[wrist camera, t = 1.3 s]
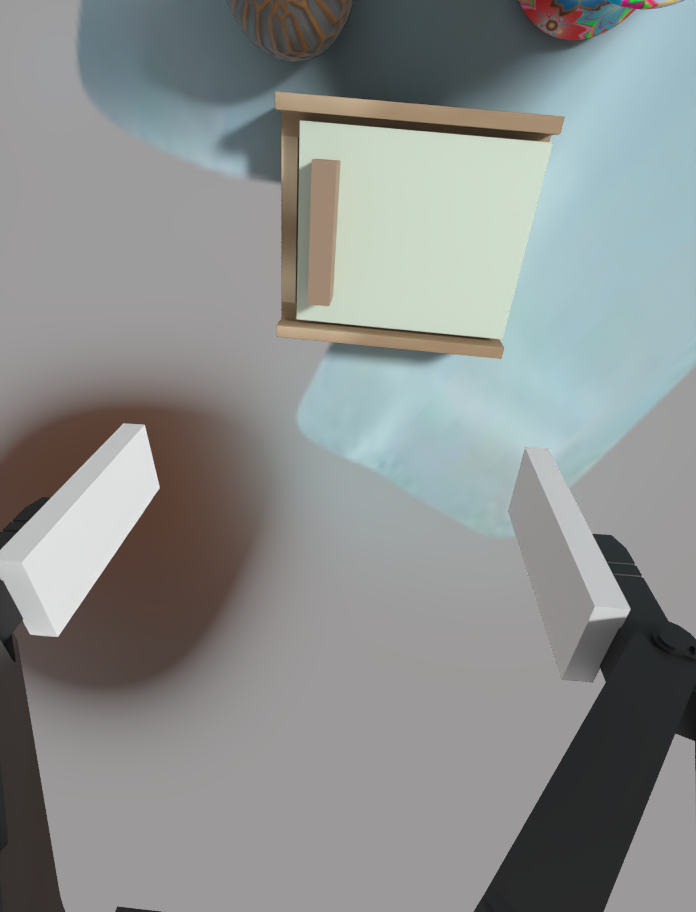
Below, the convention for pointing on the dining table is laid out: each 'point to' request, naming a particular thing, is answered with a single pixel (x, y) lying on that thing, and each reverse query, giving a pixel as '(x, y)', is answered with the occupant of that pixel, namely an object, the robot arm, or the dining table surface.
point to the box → (394, 118)
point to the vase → (291, 25)
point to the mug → (583, 15)
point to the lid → (413, 227)
